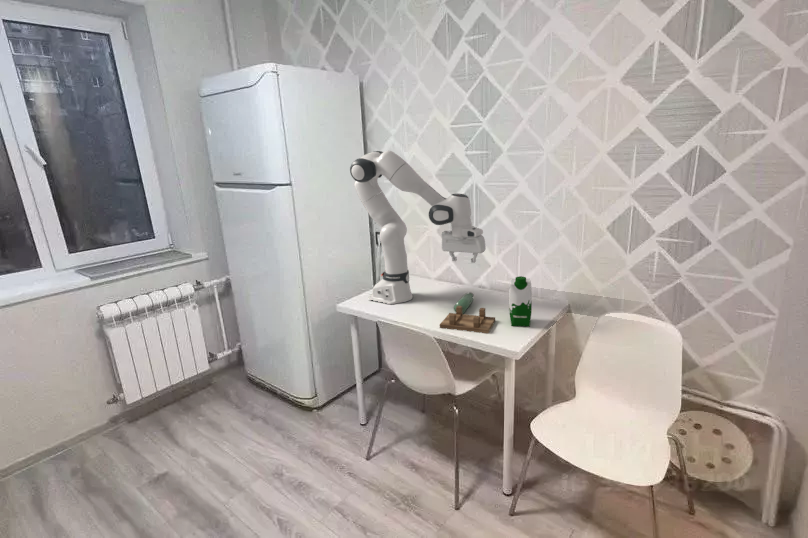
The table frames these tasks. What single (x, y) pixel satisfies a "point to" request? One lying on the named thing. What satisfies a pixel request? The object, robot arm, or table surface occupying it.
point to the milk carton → (520, 301)
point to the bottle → (465, 301)
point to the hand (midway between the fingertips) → (463, 261)
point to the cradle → (468, 321)
